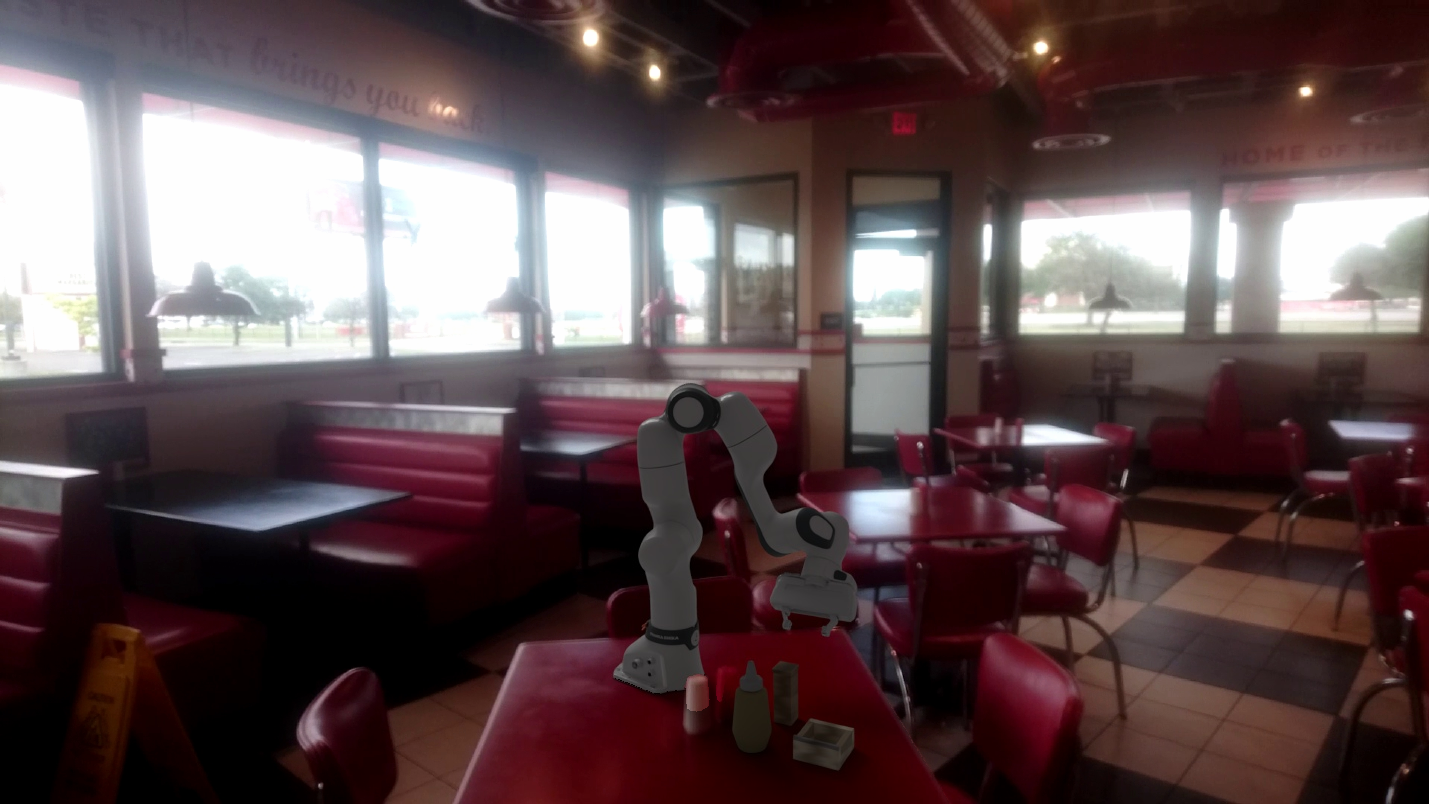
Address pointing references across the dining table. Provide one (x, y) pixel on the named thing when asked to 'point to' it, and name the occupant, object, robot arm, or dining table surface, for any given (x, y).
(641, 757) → the dining table surface
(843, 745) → the frame
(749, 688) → the squeeze bottle
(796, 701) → the brown capped wooden post
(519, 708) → the dining table surface
